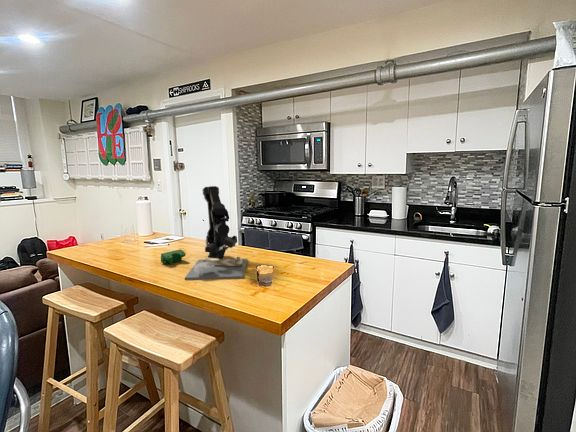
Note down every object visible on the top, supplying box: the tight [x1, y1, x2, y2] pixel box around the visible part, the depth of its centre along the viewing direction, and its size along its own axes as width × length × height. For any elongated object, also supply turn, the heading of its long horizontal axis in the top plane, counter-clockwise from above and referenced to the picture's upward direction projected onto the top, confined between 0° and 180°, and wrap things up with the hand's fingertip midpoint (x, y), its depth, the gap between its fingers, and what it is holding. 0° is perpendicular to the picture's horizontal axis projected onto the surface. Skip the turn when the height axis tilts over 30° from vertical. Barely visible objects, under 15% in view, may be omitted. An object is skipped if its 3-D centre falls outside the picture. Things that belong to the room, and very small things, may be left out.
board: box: [184, 258, 248, 281], centre depth 155 cm, size 28×26×1 cm
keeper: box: [193, 261, 214, 277], centre depth 146 cm, size 8×7×5 cm
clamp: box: [160, 248, 186, 266], centre depth 166 cm, size 12×6×9 cm, turn 133°
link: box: [203, 256, 243, 266], centre depth 158 cm, size 20×4×4 cm, turn 81°
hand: (221, 261), depth 161 cm, fingers closed
